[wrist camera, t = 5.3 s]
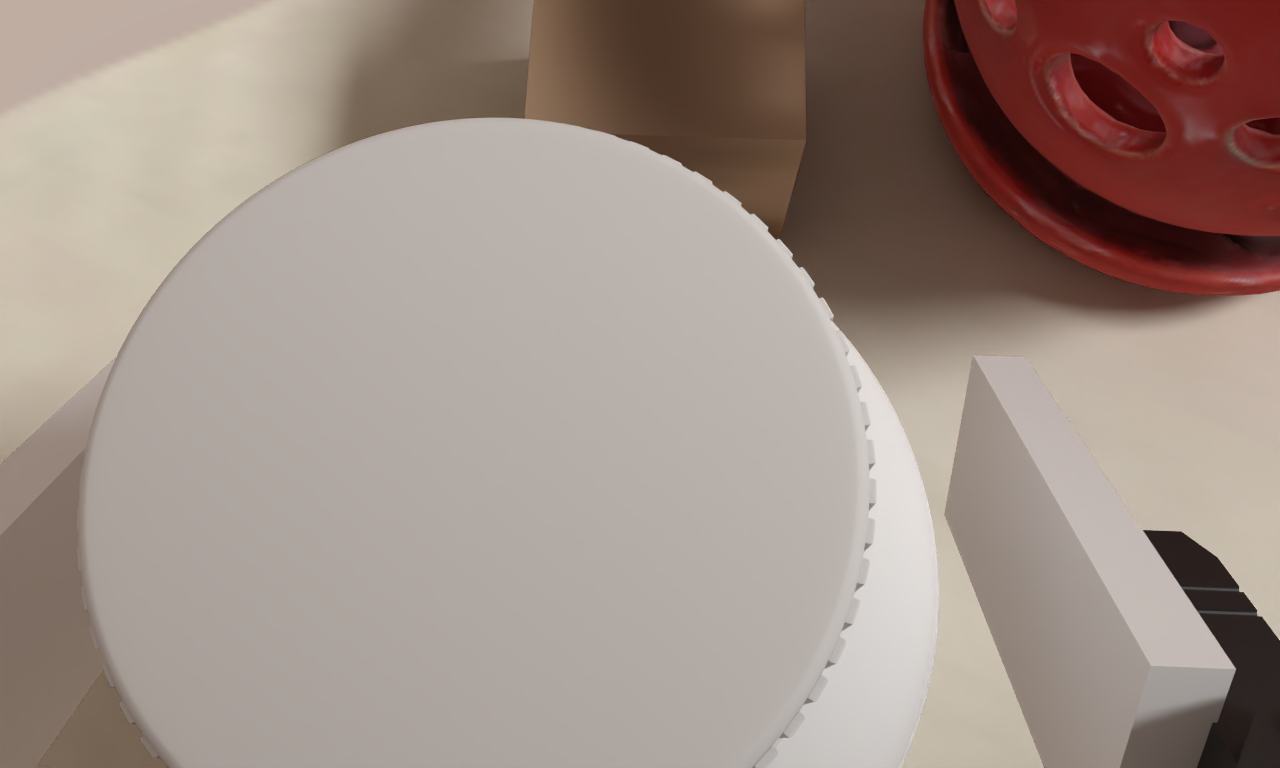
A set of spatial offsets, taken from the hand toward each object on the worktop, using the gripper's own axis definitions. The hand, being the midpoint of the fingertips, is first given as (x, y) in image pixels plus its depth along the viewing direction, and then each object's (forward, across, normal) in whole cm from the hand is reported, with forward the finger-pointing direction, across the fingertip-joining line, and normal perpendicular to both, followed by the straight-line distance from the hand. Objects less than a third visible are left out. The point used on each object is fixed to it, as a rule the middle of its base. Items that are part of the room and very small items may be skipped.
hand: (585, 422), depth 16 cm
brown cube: (+10, +1, +1) cm, 10 cm away
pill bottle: (+3, 0, -6) cm, 7 cm away
